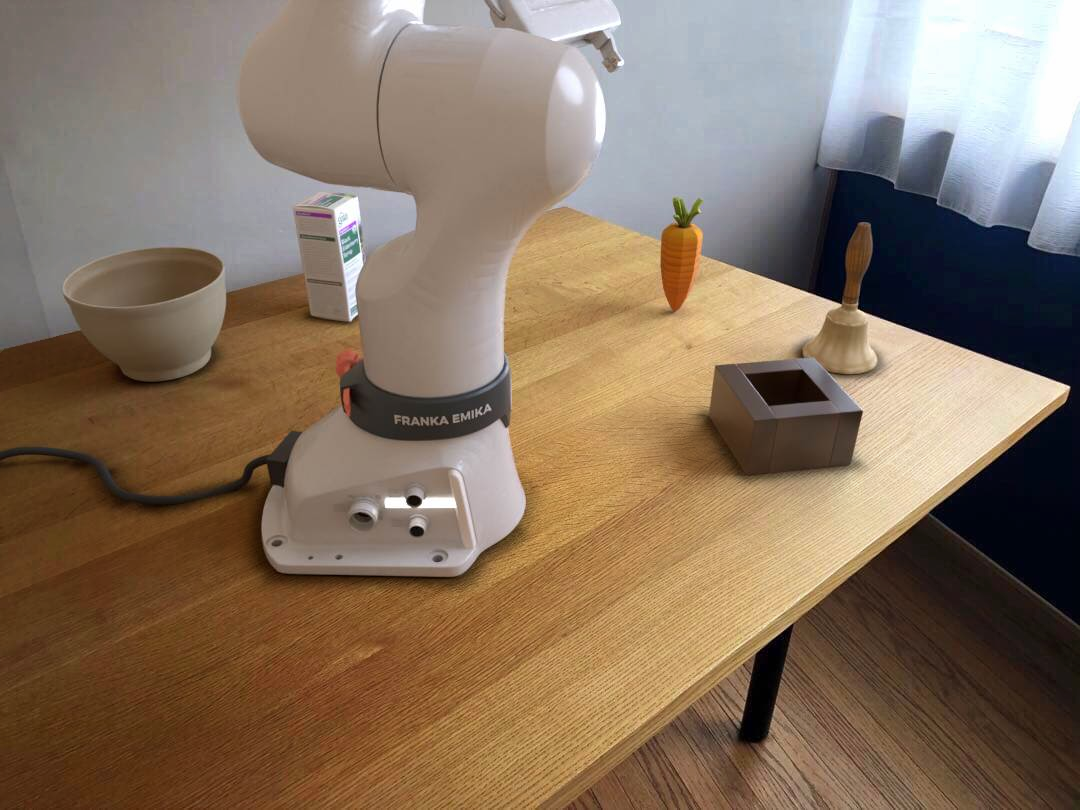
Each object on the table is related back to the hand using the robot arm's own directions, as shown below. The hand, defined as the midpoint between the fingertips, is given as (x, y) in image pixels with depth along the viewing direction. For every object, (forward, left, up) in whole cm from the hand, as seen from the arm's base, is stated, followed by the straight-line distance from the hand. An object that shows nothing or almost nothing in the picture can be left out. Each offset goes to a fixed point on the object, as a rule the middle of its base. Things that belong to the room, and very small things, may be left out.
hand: (598, 75), depth 101 cm
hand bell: (+24, -23, -27) cm, 43 cm away
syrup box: (-33, -1, -27) cm, 43 cm away
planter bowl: (-52, -12, -27) cm, 60 cm away
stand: (+10, -38, -27) cm, 48 cm away
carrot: (+9, -8, -27) cm, 30 cm away
